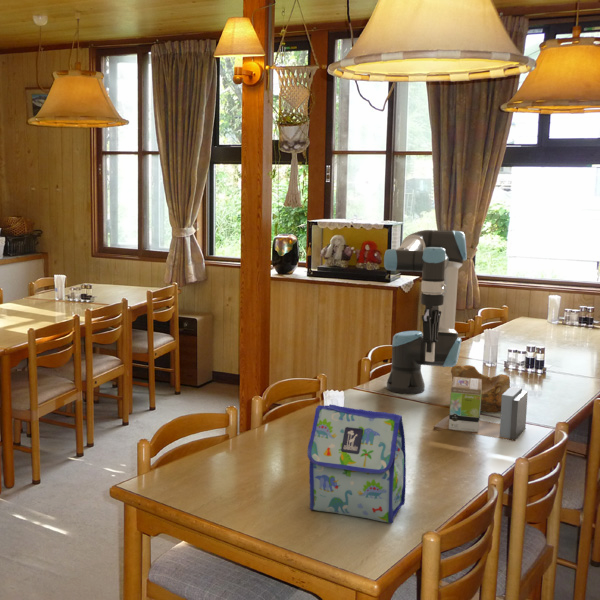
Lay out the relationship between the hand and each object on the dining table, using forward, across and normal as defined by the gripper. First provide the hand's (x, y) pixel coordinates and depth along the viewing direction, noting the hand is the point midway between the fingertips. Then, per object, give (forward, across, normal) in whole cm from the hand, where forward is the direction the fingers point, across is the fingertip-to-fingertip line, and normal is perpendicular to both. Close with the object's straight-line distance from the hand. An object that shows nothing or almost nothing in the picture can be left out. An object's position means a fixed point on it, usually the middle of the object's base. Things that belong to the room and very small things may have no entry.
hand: (429, 361), depth 252 cm
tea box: (+21, 0, -13) cm, 24 cm away
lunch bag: (+22, -77, -10) cm, 81 cm away
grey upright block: (+20, 0, -28) cm, 35 cm away
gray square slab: (+20, 0, -31) cm, 37 cm away
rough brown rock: (+22, +22, -10) cm, 32 cm away
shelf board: (+21, 0, -18) cm, 28 cm away
